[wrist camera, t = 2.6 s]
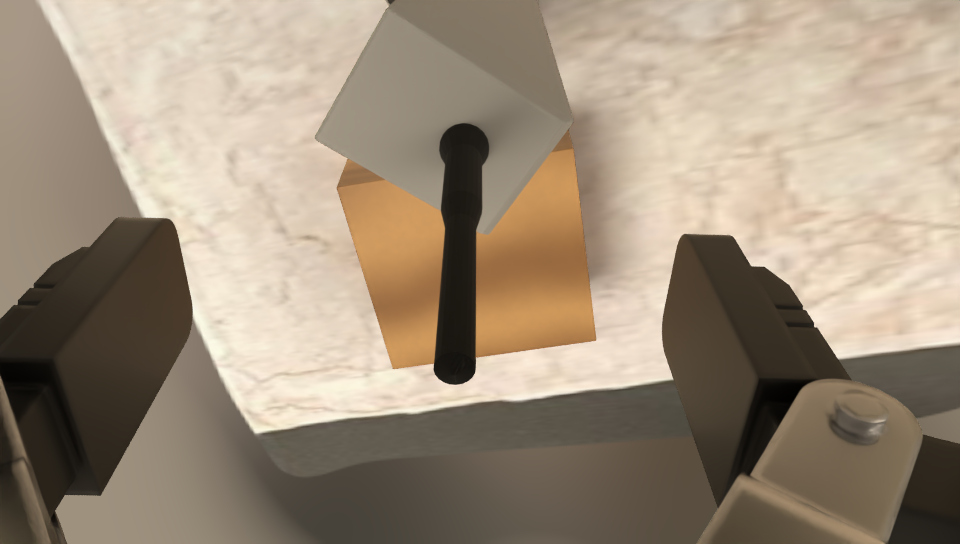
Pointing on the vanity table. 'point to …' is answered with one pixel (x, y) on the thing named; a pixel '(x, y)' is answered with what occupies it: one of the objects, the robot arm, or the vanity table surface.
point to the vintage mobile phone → (454, 129)
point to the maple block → (499, 264)
